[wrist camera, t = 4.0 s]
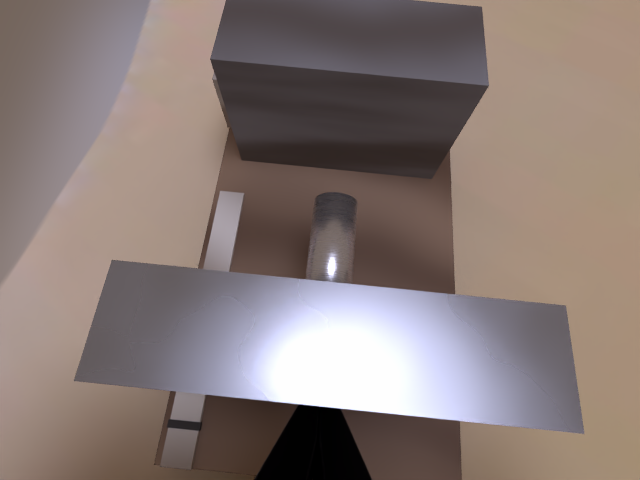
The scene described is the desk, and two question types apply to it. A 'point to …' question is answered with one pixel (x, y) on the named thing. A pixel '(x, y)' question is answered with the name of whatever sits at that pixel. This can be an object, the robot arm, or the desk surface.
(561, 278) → the desk surface
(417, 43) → the stand
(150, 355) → the grey block
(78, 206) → the desk surface
